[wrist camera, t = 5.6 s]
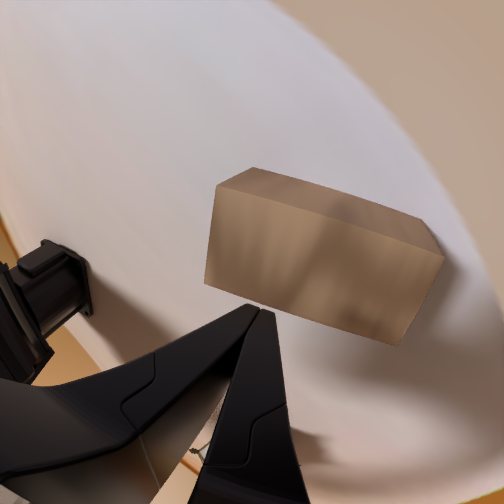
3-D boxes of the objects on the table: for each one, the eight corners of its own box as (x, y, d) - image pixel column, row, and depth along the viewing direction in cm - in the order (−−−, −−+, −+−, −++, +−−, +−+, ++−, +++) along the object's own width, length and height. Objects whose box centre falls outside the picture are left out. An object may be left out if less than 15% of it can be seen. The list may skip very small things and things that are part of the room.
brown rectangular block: (239, 244, 17) (390, 292, 15) (203, 283, 13) (396, 346, 11) (253, 166, 15) (421, 219, 13) (216, 185, 11) (445, 257, 9)
